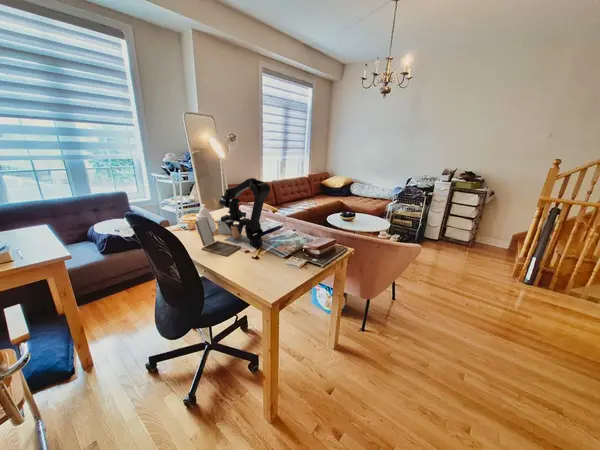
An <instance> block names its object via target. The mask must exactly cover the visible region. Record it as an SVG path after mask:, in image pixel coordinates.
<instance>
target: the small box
mask: <svg viewBox="0 0 600 450" xmlns="http://www.w3.org/2000/svg"><path fill="white" fill-rule="evenodd" d="M216 226H217V231H218V235H232V231H231V230H230V229H229V227H228V226H227V225H226V223H225V222H222V221H221V217H218V219H217V220H216Z"/></svg>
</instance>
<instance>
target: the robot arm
mask: <svg viewBox="0 0 600 450" xmlns="http://www.w3.org/2000/svg"><path fill="white" fill-rule="evenodd" d="M248 189H249V191H251V192H252V195H253V197H254V201H253V206H252V209H251V216H250V218H247V212H245V211H242V210H241V209H240V204H239V203H241V199H240V198H238V197H240V196H241V194H242V193H243V192H244V191H247V190H248ZM270 191H271V187H270V185H269V183H267V182H264V181H262V180H259V179H257V178H254V177H250V178H246V179H245V180H244V181H242V182H241V183H239V184H237V185H236V186H234V187H229V188H226V190H225V192H224V195H221V196H220V197H221V198H220V199H219V202H218V203H219V205H220V206H221V207H224V208H228V210H227V213H228V214H225V215H223V216H220V218H221V221H222V222H225V223H226V225H227V226H228V227H229V229H230V230H231V231H232V229H231V225H233V224H235V222H237V224H238V225H237V227H238V231H239V234H241V235H242V232H243V230H244V232H245V236H247V240H248V241H249V246H250V247H251V248H257V249H258V248H259V249H260V248H261V247H262V246H263V239H262V238H263V237H264V236H265V232H264V231H263V229H262V226H261V225H262V224H261V222H260V219H261V215H262V211H263V206H264V203H265V200H266V199H267V197H268V196H269V194H270Z"/></svg>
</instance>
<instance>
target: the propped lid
mask: <svg viewBox="0 0 600 450" xmlns="http://www.w3.org/2000/svg"><path fill="white" fill-rule="evenodd" d="M194 222H195V225H196V226H197V229H198V232H199V234H198V235H199V237H200V240H201V244H202V247H205V246H207V245H209V244H211V243H213V242H216V241H215V238H214V235H213V233H212V231H211V228H210V225H209V222H208V219H207V217H206V218H203V219H201V220H198V221H194ZM196 226H195V227H196Z"/></svg>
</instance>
